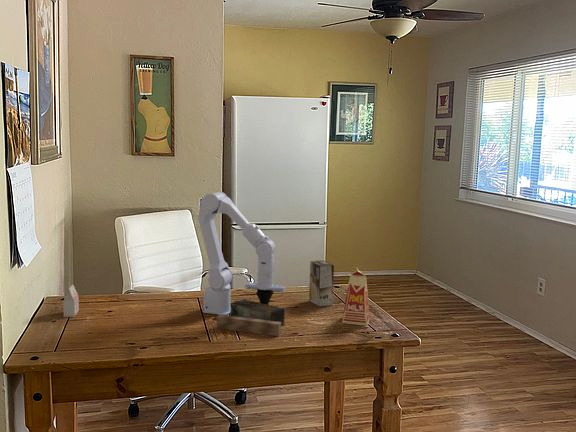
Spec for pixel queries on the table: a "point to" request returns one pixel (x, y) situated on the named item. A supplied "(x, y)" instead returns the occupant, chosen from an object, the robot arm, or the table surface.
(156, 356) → the table surface
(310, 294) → the coffee box
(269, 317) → the beverage carton
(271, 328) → the walnut board
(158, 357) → the table surface
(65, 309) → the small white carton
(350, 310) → the milk carton
